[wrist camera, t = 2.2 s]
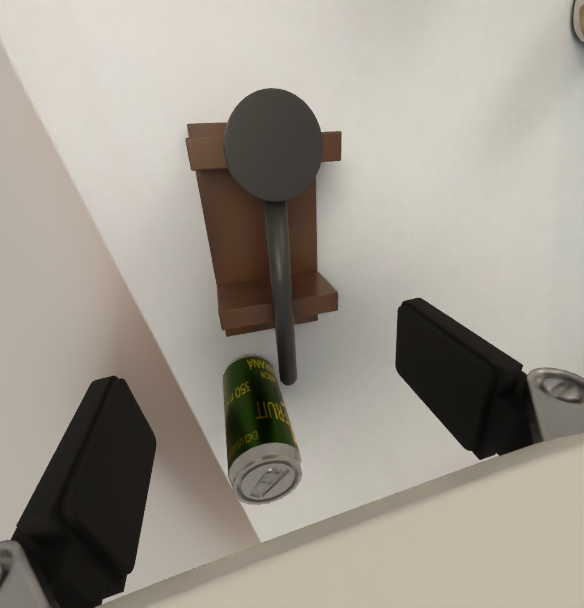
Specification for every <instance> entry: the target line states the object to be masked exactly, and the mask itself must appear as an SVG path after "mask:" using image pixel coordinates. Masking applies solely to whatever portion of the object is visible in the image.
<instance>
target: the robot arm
mask: <svg viewBox="0 0 584 608" xmlns="http://www.w3.org/2000/svg"><path fill="white" fill-rule="evenodd" d="M395 365H396V369H397V372H398V373H399V375H400V376H401V377H402V378H403V379H404V381H405V382H406V383H407V384H408V385H409V386H410V387H411V388H412V390H413V391H414V392H415V393H416V394H417V395H418V396H419V398H420V399H421V400H422V401H423V402H424V403H425V404H426V405H427V407H428V408H429V409H430V410H431V411H432V412H433V413H434V415H435V416H436V417H437V418H438V419H439V420H440V421H441V422H442V424H443V425H444V426H445V427H446V428H447V429H448V430H449V432H450V433H451V434H452V435H453V436H454V437H455V438H456V439H457V441H458V442H459V443H460V444H461V445H462V446H463V447H464V448H465V449H466V450H468V451H472V452H473V453H474V454H475V455H476V456H477V458H478V459H479V460H482V459H484V458H487V457H490V456H492V455H495V454H496V453H497V454H498V455H499V456H498V457H495V458H492V459H489V460H487V461H484V462H481V463H478V464H475V465H473V466H470V467H467V468H464V469H462V470H459V471H456V472H453V473H451V474H448V475H445V476H442V477H440V478H437V479H434V480H431V481H429V482H426V483H423V484H420V485H418V486H415V487H412V488H409V489H406V490H404V491H401V492H398V493H396V494H393V495H390V496H387V497H385V498H382V499H379V500H377V501H374V502H371V503H368V504H366V505H363V506H360V507H358V508H355V509H352V510H349V511H347V512H344V513H341V514H339V515H336V516H333V517H331V518H328V519H325V520H322V521H320V522H317V523H314V524H312V525H309V526H306V527H304V528H301V529H298V530H296V531H293V532H290V533H287V534H285V535H282V536H279V537H277V538H274V539H271V540H269V541H266V542H263V543H261V544H258V545H255V546H253V547H250V548H247V549H245V550H242V551H239V552H237V553H234V554H232V555H229V556H226V557H224V558H221V559H218V560H216V561H213V562H210V563H208V564H205V565H202V566H200V567H197V568H194V569H192V570H189V571H187V572H184V573H181V574H178V575H176V576H173V577H171V578H168V579H165V580H163V581H160V582H158V583H155V584H153V585H150V586H148V587H145V588H143V589H140V590H138V591H135V592H133V593H130V594H128V595H125V596H122V597H120V598H117V599H115V600H113V601H110V602H107V603H105V604H102V600H103V599H105V598H107V597H110V596H113V595H116V594H118V593H121V592H124V587H125V582H126V577H127V574H130V573H131V572H132V570H133V568H134V565H135V560H136V555H137V548H138V543H139V538H140V533H141V527H142V521H143V516H144V510H145V505H146V500H147V494H148V489H149V484H150V478H151V473H152V467H153V461H154V456H155V450H156V438H155V435H154V433H153V431H152V430H151V428H150V426H149V424H148V422H147V420H146V418H145V417H144V414H143V413H142V411H141V409H140V407H139V405H138V404H137V401H136V400H135V398H134V396H133V394H132V392H131V390H130V388H129V387H128V385H127V383H126V381H125V380H124V379H122V378H121V379H118V378H117V377H116V376H110V377H106V378H102V379H98V380H95V381H93V382H92V383H91V385H90V386H89V388H88V390H87V392H86V394H85V396H84V398H83V400H82V402H81V403H80V405H79V407H78V409H77V411H76V413H75V415H74V417H73V419H72V421H71V423H70V424H69V426H68V428H67V430H66V432H65V434H64V436H63V438H62V440H61V442H60V444H59V445H58V448H57V449H56V451H55V453H54V455H53V457H52V459H51V461H50V463H49V465H48V466H47V468H46V470H45V472H44V474H43V476H42V478H41V480H40V482H39V483H38V485H37V487H36V489H35V492H34V493H33V495H32V497H31V499H30V501H29V503H28V505H27V507H26V508H25V510H24V512H23V514H22V516H21V518H20V520H19V522H18V523H17V525H16V526H17V528H16V531H15V532H14V534H13V537H12V538H11V540H5V541H1V542H0V608H584V378H582V377H580V376H578V375H576V374H574V373H571V372H568V371H565V370H561V369H556V368H546V367H544V368H536V369H534V370H532V371H530V372H529V374H528V375H527V374H525V373H524V372H522V371H521V370H522V367H523V365H522V364H521V363H519V362H518V361H516V360H515V359H513V358H512V357H510V356H509V355H507V354H505V353H504V352H502V351H501V350H499V349H498V348H496V347H495V346H493V345H492V344H490V343H489V342H487V341H486V340H484V339H483V338H481V337H480V336H478V335H477V334H475V333H473V332H472V331H470V330H469V329H467V328H466V327H464V326H463V325H461V324H460V323H458V322H457V321H455V320H454V319H452V318H451V317H449V316H448V315H446V314H445V313H443V312H441V311H440V310H438V309H437V308H435V307H434V306H432V305H431V304H429V303H428V302H426V301H425V300H423V299H422V298H414V299H411V300H407V301H404V302H402V304H401V306H400V307H399V308H398V317H397V339H396V362H395ZM101 604H102V605H101Z"/></svg>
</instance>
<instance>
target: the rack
mask: <svg viewBox="0 0 584 608" xmlns="http://www.w3.org/2000/svg"><path fill="white" fill-rule="evenodd" d="M226 125H227V123H200V124H187V128H188V133H189V138H186V145H187V151H188V156H189V161H190V166H191V170H192V171H196V176H197V181H198V187H199V192H200V198H201V203H202V208H203V214H204V219H205V224H206V230H207V235H208V241H209V246H210V251H211V257H212V262H213V267H214V273H215V278H216V284H217V296H218V312H219V317H220V323H221V328H222V330H225V332H226V336H227V337H228V336H233V335H239V334H245V333H250V332H256V331H261V330H267V329H273V328H275V321H274V310H273V299H272V288H271V278H270V267H269V256H268V246H267V235H266V224H265V213H264V203H263V200H261V199H259V198H256V197H254V196H253V195H251V194H249V193H248V192H247V191H245V190H244V189H243V188H242V187H241V186H240V185H239V184H238V183H237V182H236V181H235V179H234V178H233V177H232V175H231V173H230V172H229V170H228V167H227V165H226V162H225V158H224V153H223V137H224V131H225V128H226ZM321 134H322V141H323V154H322V160H321V162H332V161H340V160H341V131H334V132H321ZM287 213H288V230H289V248H290V265H291V282H292V299H293V316H294V325H295V324H301V323H306V322H312V321H317V320H318V314H320V313H326V312H332V311H337V310H338V292H337V291H336V290H335V289H334V288H333V287H332V286H331V285H330V284H329V282H328V281H327V280H326V279H325V278H324V277H323V276H322V275H321V274H320V273H319V272H318V271H317V229H316V176H315V178H314V180H313V181H312V183H311V184H310V185H309V186H308V188H307V189H306V190H304V191H303V192H302V193H301V194H299V195H298V196H296V197H294V198H292V199H289V200H287Z"/></svg>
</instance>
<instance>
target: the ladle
mask: <svg viewBox="0 0 584 608" xmlns="http://www.w3.org/2000/svg"><path fill="white" fill-rule="evenodd" d="M223 153H224V158H225V162H226V165H227V167H228V170H229V172H230V173H231V175H232V177H233V178H234V179H235V181H236V182H237V183H238V184H239V185H240V186H241V187H242V188H243V189H244V190H245V191H247V192H248V193H249V194H251V195H253V196H254V197H256V198H259V199H261V200H263V203H264V213H265V224H266V235H267V246H268V256H269V267H270V278H271V288H272V299H273V310H274V321H275V331H276V342H277V353H278V363H279V374H280V380H281V382H282V383H283V384H284V385H287V386H289V385H292V384H294V383H295V382H296V379H297V368H296V350H295V333H294V316H293V299H292V282H291V265H290V248H289V230H288V213H287V200H289V199H292V198H294V197H296V196H298V195H299V194H301V193H302V192H303V191H304V190H306V189H307V188H308V186H309V185H310V184H311V183H312V181H313V180H314V178H315V176H316V175H317V172H318V170H319V168H320V164H321V160H322V154H323V141H322V134H321V130H320V126H319V124H318V121H317V119H316V117H315V115H314V114H313V112H312V110H311V109H310V108H309V106H308V105H307V104H306V103H305V102H304V101H303V100H301V99H300V98H299V97H298V96H296V95H294V94H293V93H291V92H288V91H286V90H282V89H275V88H269V89H262V90H258V91H256V92H254V93H251V94H250V95H248V96H247V97H245V98H244V99H243V100H242V101H241V102H240V103H239V104H238V105H237V106H236V108H235V109H234V111H233V112H232V114H231V116H230V118H229V120H228V122H227V125H226V128H225V131H224V137H223Z"/></svg>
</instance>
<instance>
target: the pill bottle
mask: <svg viewBox="0 0 584 608" xmlns="http://www.w3.org/2000/svg"><path fill="white" fill-rule="evenodd" d="M573 23H574V29H575V32H576V34H577V36H578V38H579V39H580V40H581V41H583V42H584V0H576V1H575V6H574V13H573Z"/></svg>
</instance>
